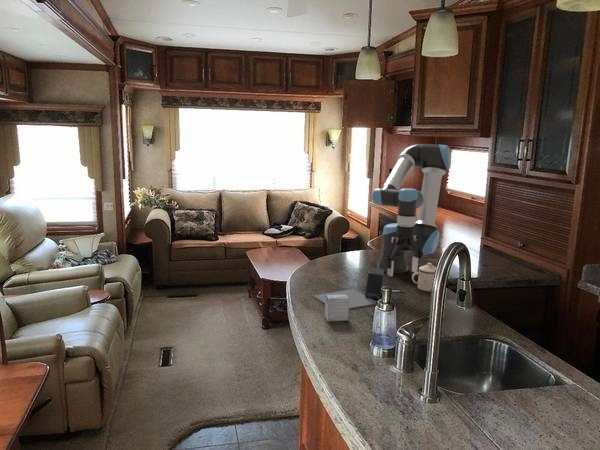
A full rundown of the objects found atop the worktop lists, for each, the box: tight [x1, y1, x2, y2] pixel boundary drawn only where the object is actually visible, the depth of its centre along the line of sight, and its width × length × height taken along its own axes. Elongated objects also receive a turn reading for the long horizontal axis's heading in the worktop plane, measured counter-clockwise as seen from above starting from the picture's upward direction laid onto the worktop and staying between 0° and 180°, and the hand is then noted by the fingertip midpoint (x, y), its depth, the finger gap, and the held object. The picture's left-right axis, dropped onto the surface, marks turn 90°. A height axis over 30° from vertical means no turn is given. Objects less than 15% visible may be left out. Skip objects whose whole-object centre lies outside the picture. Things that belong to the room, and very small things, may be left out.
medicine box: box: [324, 295, 350, 322], centre depth 172 cm, size 8×4×9 cm, turn 100°
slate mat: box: [312, 288, 378, 310], centre depth 193 cm, size 20×18×1 cm
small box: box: [364, 266, 385, 300], centre depth 198 cm, size 11×6×10 cm, turn 169°
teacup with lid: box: [411, 262, 437, 292], centre depth 209 cm, size 12×9×12 cm
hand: (402, 273), depth 205 cm, fingers open, 13 cm apart
